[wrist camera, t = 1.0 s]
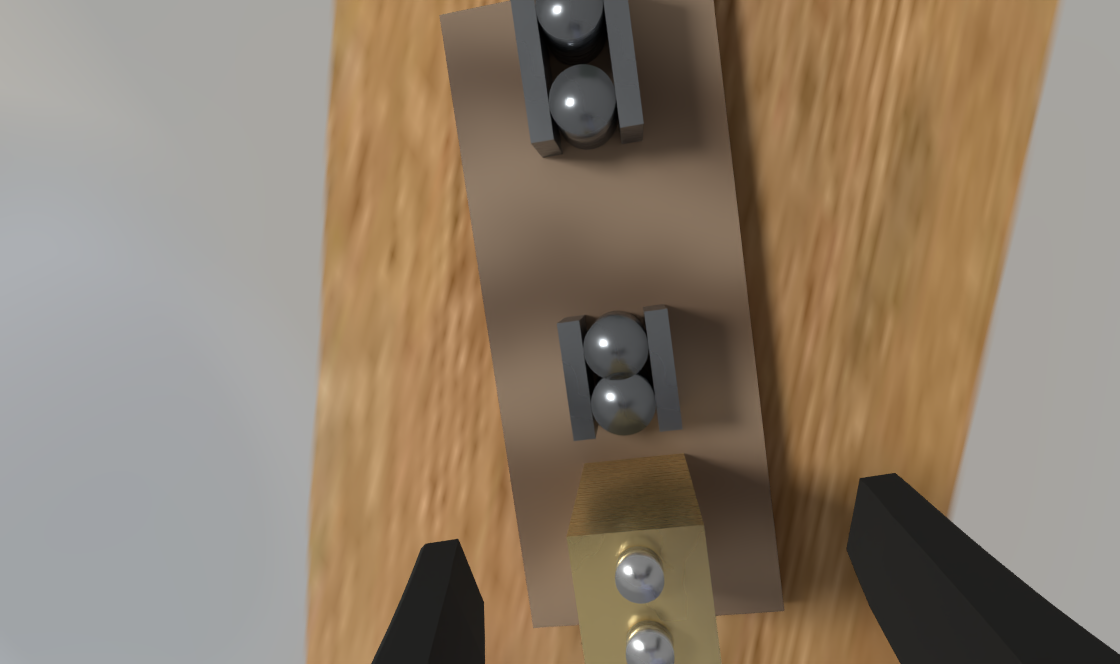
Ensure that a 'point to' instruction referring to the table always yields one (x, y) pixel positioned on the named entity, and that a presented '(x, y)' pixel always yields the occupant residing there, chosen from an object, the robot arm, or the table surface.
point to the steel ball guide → (587, 123)
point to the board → (617, 288)
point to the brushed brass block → (641, 565)
